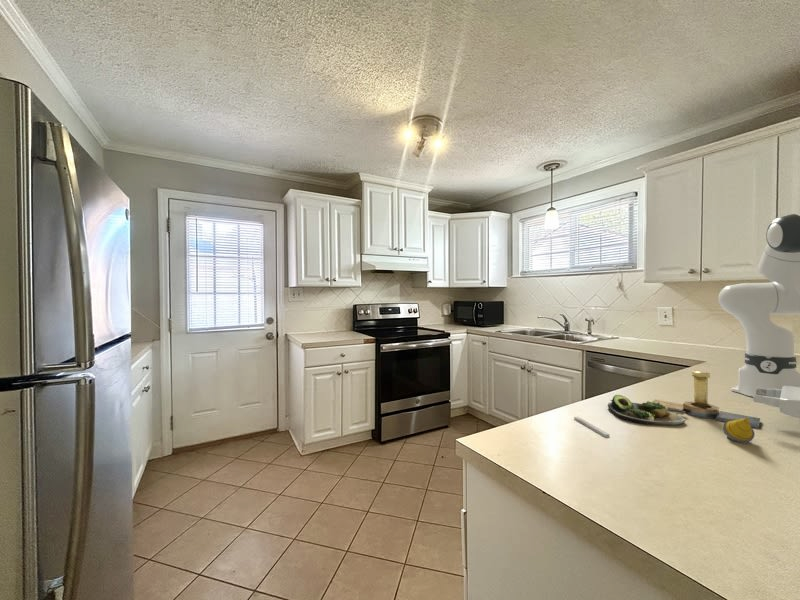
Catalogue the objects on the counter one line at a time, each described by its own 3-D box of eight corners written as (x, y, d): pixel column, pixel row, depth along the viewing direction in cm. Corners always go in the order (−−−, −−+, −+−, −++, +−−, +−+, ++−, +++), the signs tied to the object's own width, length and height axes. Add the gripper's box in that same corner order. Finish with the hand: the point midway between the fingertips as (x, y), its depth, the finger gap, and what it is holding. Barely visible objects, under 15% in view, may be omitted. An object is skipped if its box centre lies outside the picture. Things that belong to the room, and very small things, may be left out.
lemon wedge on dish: (755, 441, 80) (771, 423, 74) (734, 451, 80) (749, 433, 74) (732, 422, 84) (746, 403, 78) (713, 431, 84) (725, 413, 78)
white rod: (609, 438, 83) (609, 434, 83) (605, 438, 83) (605, 434, 83) (578, 420, 95) (578, 416, 95) (574, 420, 95) (574, 417, 95)
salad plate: (671, 409, 104) (670, 394, 104) (707, 431, 87) (707, 413, 87) (601, 404, 109) (601, 390, 109) (622, 424, 92) (622, 407, 92)
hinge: (655, 402, 110) (655, 394, 110) (760, 421, 92) (760, 412, 92) (649, 406, 105) (648, 399, 105) (758, 428, 87) (758, 419, 87)
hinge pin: (693, 410, 101) (693, 370, 101) (711, 414, 98) (710, 372, 98) (690, 413, 99) (690, 372, 99) (709, 417, 96) (708, 374, 96)
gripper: (836, 385, 86) (758, 376, 97) (843, 401, 73) (751, 389, 84) (836, 410, 86) (758, 398, 97) (843, 430, 73) (751, 414, 84)
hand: (754, 394), depth 90 cm, fingers open, 8 cm apart
